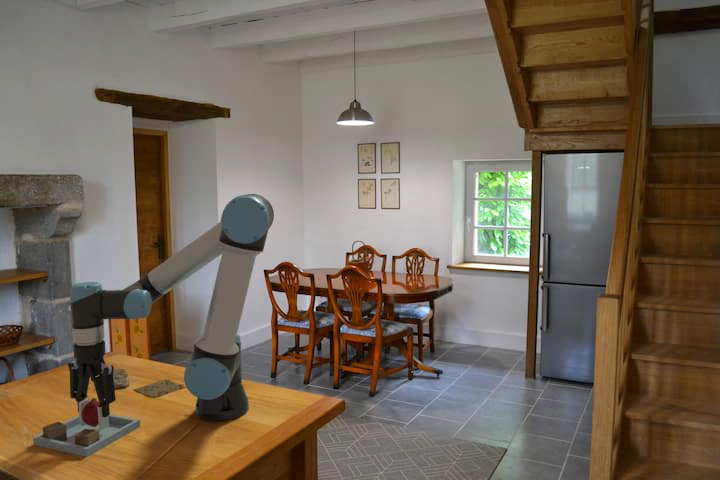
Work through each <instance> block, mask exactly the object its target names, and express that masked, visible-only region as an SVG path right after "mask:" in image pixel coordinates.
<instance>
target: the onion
mask: <svg viewBox="0 0 720 480" xmlns="http://www.w3.org/2000/svg"><path fill="white" fill-rule="evenodd" d="M98 405H100V403H99V400H97V398H96V397H92V398H91V399H90V400H89V403H87V404H86V406H85V407H84V408H83V410H82V420H83V421H84V423H86V424H87V425H89V426H92V427H96V426H97V425H98V424H99V423H98V407H97V406H98Z"/></svg>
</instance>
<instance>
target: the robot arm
mask: <svg viewBox="0 0 720 480" xmlns="http://www.w3.org/2000/svg"><path fill="white" fill-rule="evenodd" d="M274 217H275V212H274V209H273V206H272V204H271V203H270V201H269V200H268V199H267V198H265V196H263V195H260V194H256V193H250V194H249V193H248V194H242V195H238V196H236V197H234V198H232V199H231V200H229V202H228V203H226V205H225V207H223V210H222V213H221V216H220V221H219V222H218V223H216V224H214V226H212V227H211V228H210V229H208V230H207V231H205V232H204V233H203V234H201V235H200V236H198V237H197V238H196V239H194V240H193V241H191V242H190V243H189V244H187V245H186V246H184V247H183V248H182V249H180V250H179V251H178V252H176V253H174V254H173V255H172V256H170V257H169V258H167V259H166V260H165V261H163V262H162V263H160V264H159V265H157V266H156V267H155V268H153V269H152V270H151V271H150V272H148V273H147V274H145V275H144V276H142V277H141V278H140V279H138V280H137V281H135V282H133V283H132V284H131V285H129V286H127V287H125V288H123V289H114V290H113V289H112V290H109V289H107V290H106V289H103V287H102V283H101V282H98V281H82V282H77V283H75V284H73V285H71V287H70V291H69V293H70V295H69V296H70V300H69V304H70V312H71V313H70V314H71V330H72V331H71V334H72V342H73V343H74V344H73V345H72V346H73V357H74V358H75V360H72V361H70V362H68V363H67V366H68V369H69V395H70V398H71V399H75V401H76V402H77V403H76V404H77V413H78V416H79V417H80V426H84V425H86V423H84V421H83V420H82V410H83V408H84V407H85V406H86V404H87V403H89V402H90V399H88V398H89V396H88V389H89V385H90V383H89V382H90V381H91V382H93V385H94V389H95V391H96V396H97V399H98V402H99V403H100V405H98V406H97V407H98V423H99V430H103V429H104V428H106V427H108V426H109V417H108V416H109V415H110V414H111V412H110V411H111V410H110V404H112V403H114V402H116V390H115V389H116V388H114V379H113V371H114V370H115V366H114V365H113V364H112V365H109V364H106V361H105V359H104V356H105V355H106V354H107V353H106V351H107V349H106V342H105V341H106V340H104V339H105V323H104V322H105V321H104V320H137V319H146V318H148V316H149V315H150V313H151V311H152V307H153V304H154V303H155V302H156V301H158V300H159V299H160V298H162V297H163V296H164V295H165V294H168V293H169V292H170V291H172V290H173V289H174V288H176V287H178V286H179V285H180V284H181V283H183V282H185V280H187V279H189V278H190V277H191V276H193V275H195V273H196V272H198V271H200V270H201V269H203V268H204V267H206V266H207V265H208V264H210V263H211V262H212V261H214V260H215V259H217V258H218V257H219V256H220V260H219V264H218V265H219V266H218V269H217V273H216V277H215V282H214V287H213V291H212V294H211V299H210V303H209V306H208V312H207V316H206V320H205V325H204V328H203V333H202V335H200V337H198V338H197V339H195V341H194V345H193V349H192V353H191V357H190V361H189V364H188V365H187V366H186V368H185V370H184V375H183V381H184V385H185V387H186V389H187V390H188V391H189V393H191V395H192V396H194V397H196V398H197V399H196V402H195V415H196V417H198V418H199V419H200V420H204V421H210V422H211V421H212V422H219V421H227V420H233V419H237V418H239V417H241V416H244V415H245V414H246V413H247V412H248V411H249V405H250V404H249V401H250V400H249V399H248V396H247V393H246V390H245V388H244V385H243V381H242V379H243V378H242V377H243V375H242V373H243V372H242V341H241V336H240V334H239V333H238V330H239V329H240V328H239V327H240V323H241V319H242V314H243V312H244V311H243V310H244V307H245V302H246V298H247V294H248V290H249V286H250V281H251V277H252V275H253V269H254V265H255V260H256V257H257V256H258V255H260V254H261V253H264V248H265V245H266V241H267V237H268V233H269V230H270V228H271V227H272V225H273V222H274V219H275V218H274Z"/></svg>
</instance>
